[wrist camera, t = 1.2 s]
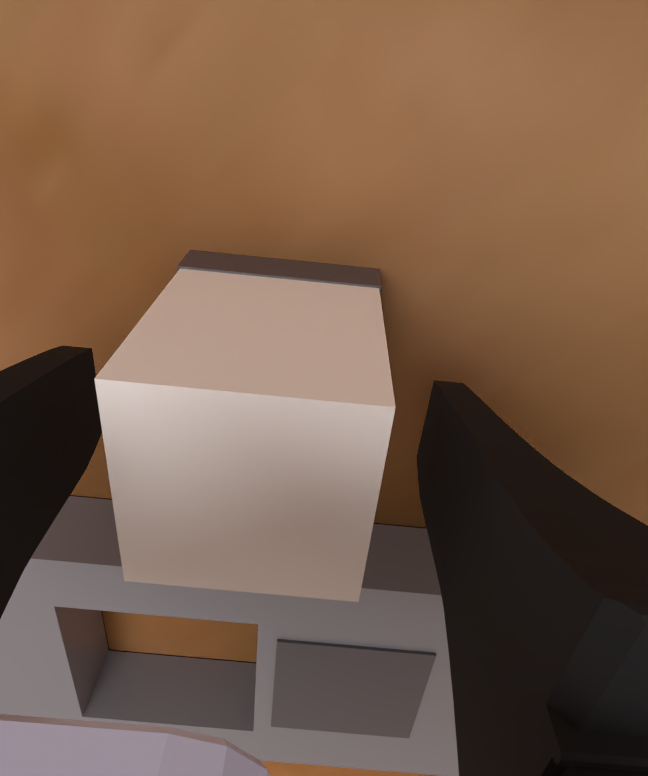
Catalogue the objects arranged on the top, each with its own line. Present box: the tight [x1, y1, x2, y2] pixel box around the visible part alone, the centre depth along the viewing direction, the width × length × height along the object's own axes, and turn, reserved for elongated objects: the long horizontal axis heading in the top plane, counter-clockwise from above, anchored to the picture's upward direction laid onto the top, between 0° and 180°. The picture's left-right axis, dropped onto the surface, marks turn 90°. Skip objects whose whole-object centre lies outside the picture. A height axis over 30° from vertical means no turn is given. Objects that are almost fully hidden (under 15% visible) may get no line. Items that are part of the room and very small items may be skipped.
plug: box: [94, 250, 396, 602], centre depth 12 cm, size 4×4×6 cm
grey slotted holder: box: [0, 496, 459, 776], centre depth 18 cm, size 20×10×4 cm, turn 85°
